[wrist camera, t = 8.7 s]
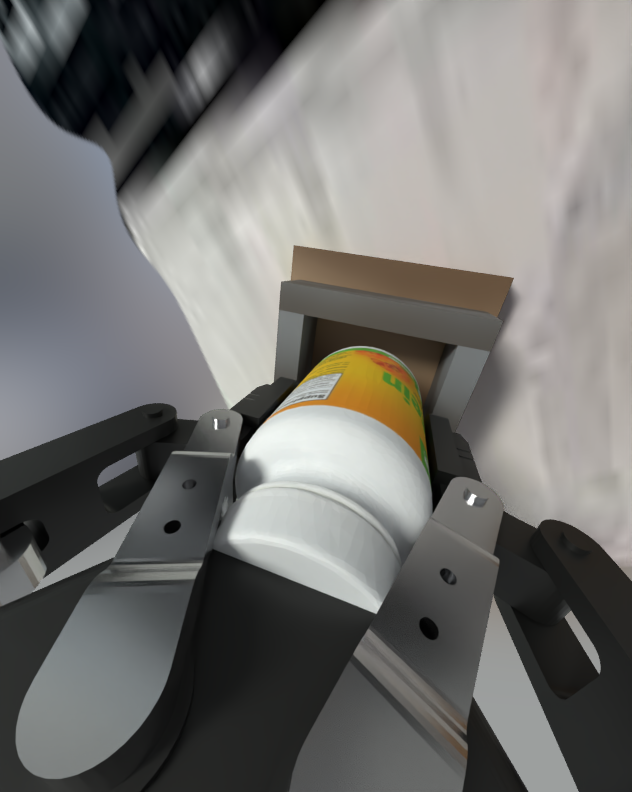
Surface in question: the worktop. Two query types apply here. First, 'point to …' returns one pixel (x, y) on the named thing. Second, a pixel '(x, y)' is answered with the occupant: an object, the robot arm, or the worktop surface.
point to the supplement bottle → (336, 480)
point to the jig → (391, 320)
